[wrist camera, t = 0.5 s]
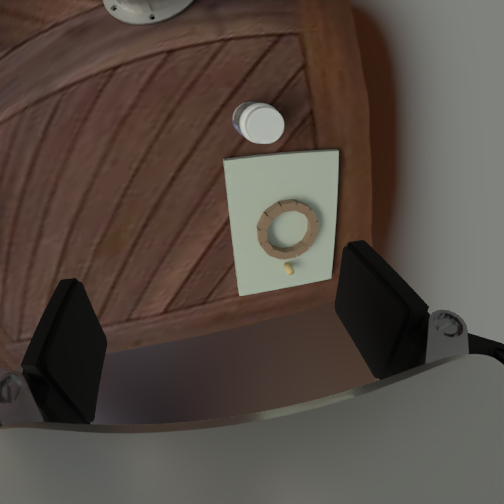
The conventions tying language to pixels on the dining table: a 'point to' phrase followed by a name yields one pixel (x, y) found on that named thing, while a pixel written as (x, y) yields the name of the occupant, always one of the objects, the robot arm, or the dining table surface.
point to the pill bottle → (258, 122)
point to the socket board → (282, 217)
